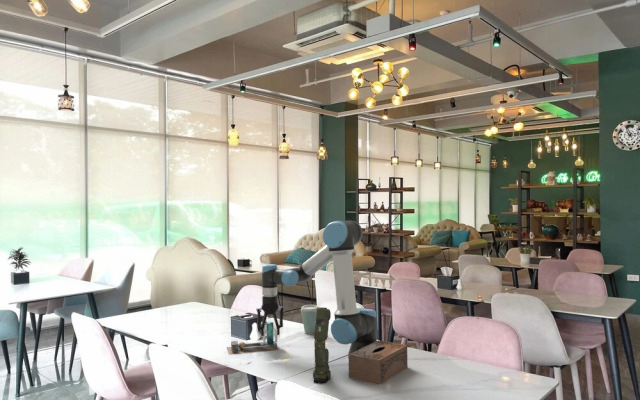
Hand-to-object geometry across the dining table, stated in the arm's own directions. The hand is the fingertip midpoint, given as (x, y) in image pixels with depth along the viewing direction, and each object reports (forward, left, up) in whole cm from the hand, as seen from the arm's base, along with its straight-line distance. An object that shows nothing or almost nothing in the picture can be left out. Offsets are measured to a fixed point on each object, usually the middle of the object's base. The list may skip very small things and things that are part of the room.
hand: (270, 341), depth 244 cm
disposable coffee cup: (+26, -27, -4) cm, 38 cm away
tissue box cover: (-47, -39, -4) cm, 61 cm away
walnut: (0, +14, -3) cm, 14 cm away
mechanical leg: (-47, -14, -4) cm, 49 cm away
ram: (0, +1, -2) cm, 2 cm away
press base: (0, +9, -4) cm, 10 cm away
